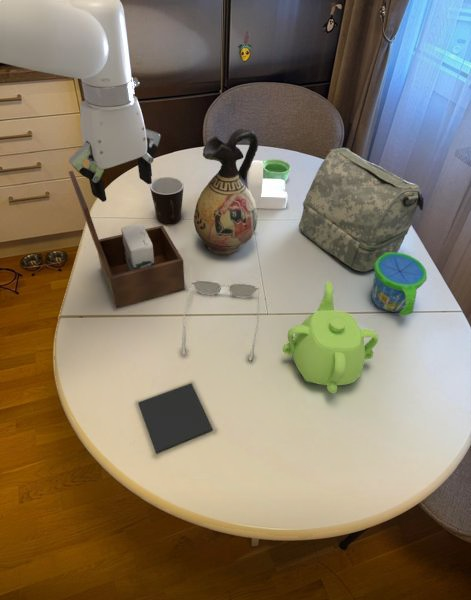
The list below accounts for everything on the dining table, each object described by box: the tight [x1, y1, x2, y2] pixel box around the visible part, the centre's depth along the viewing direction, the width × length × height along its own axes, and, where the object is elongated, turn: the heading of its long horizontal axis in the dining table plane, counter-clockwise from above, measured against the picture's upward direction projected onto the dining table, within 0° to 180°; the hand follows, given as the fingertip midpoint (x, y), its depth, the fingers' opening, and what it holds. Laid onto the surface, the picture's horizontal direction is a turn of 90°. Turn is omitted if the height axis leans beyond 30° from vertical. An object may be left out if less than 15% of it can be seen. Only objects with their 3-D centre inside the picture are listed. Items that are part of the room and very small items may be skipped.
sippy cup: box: [371, 252, 428, 316], centre depth 92 cm, size 16×10×10 cm
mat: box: [138, 382, 214, 454], centre depth 72 cm, size 10×10×1 cm
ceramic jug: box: [193, 128, 259, 255], centre depth 97 cm, size 17×15×30 cm
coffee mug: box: [149, 176, 185, 226], centre depth 110 cm, size 12×9×10 cm
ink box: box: [120, 223, 155, 272], centre depth 92 cm, size 9×5×12 cm, turn 25°
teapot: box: [282, 280, 379, 394], centre depth 78 cm, size 16×14×13 cm
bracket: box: [247, 159, 288, 210], centre depth 119 cm, size 19×10×11 cm, turn 91°
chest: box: [97, 224, 186, 310], centre depth 93 cm, size 16×14×9 cm
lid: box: [68, 170, 111, 278], centre depth 81 cm, size 16×14×1 cm
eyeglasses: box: [181, 279, 261, 362], centre depth 87 cm, size 15×18×4 cm
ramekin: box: [263, 158, 291, 183], centre depth 131 cm, size 9×9×4 cm
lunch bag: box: [298, 147, 425, 272], centre depth 103 cm, size 26×18×22 cm
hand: (123, 189), depth 77 cm, fingers open, 9 cm apart
